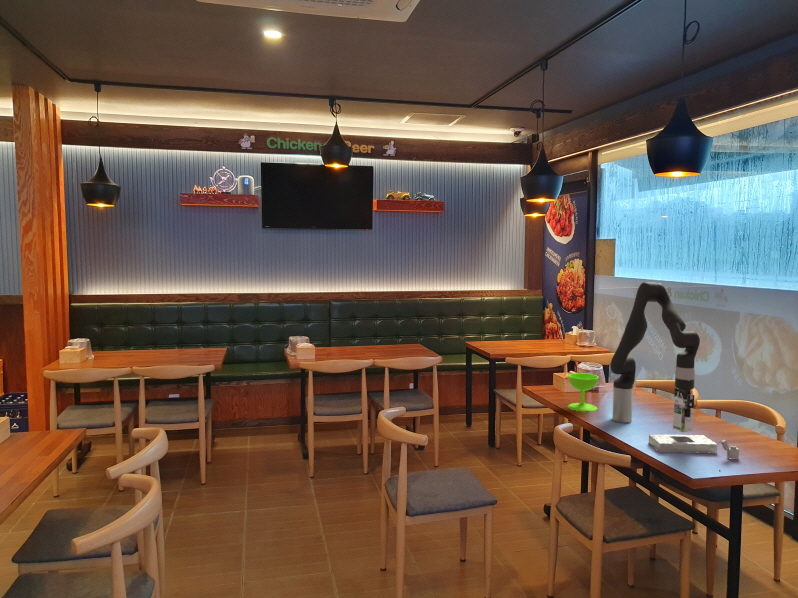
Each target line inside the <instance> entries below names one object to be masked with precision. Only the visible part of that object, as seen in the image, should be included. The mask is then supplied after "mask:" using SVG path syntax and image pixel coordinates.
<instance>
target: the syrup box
mask: <svg viewBox="0 0 798 598" xmlns="http://www.w3.org/2000/svg"><path fill="white" fill-rule="evenodd" d="M685 401H687V399H684V402H685ZM686 404H687V403H686ZM691 405H692V403H691ZM684 415H685V403H683V399H682V398H681V397H678V396H676V397H674V398H673V416H672V417H673V418H672V419H673V420H672V429H673V430H675V431H678V432H681V433H687V432H688V433H689V432H693V424H694V423H693V421H694V408H692V409H691V414H690V417H685V416H684Z"/></svg>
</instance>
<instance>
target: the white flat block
mask: <svg viewBox="0 0 798 598" xmlns="http://www.w3.org/2000/svg"><path fill="white" fill-rule="evenodd" d="M649 443H650V444H651V445H652V446H651V445H650V444H649ZM648 444H649V445H650V446H651V447H652V448H654V449H655V450H656V449H657V450H658V451H659V452H658V453H661V452H699V453H698V454H707V453H706V452H710V453H709V454H718V443H716V442H715V441H713V440H711V439H710V438H708V437H707V436H705V435H703V434H702V435H701V434H695V435H694V434H691V435H690V434H648ZM657 450H656V451H657Z"/></svg>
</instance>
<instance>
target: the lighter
mask: <svg viewBox="0 0 798 598" xmlns="http://www.w3.org/2000/svg"><path fill="white" fill-rule="evenodd" d="M720 442H721V445H722V448H723V449H724V450H725V451H726V458H727V457H728V458H739V457H740V448H738V447H737V446H736V445H730V447H729V445H728V443H727V440H725V439H722V440H720ZM728 458H727V459H728ZM739 459H740V458H739Z"/></svg>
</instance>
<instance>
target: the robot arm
mask: <svg viewBox="0 0 798 598" xmlns="http://www.w3.org/2000/svg"><path fill="white" fill-rule="evenodd" d="M648 303H657V304H658V305H659V306H660V307H661V318H662V322H663V323H664V325H665V326H666V328H667V329H668V330H669V335H670V337H671V341H672V344H673V345H674V346H675V347H677V348H679V349H684V351H682V352H679V353H677V354H676V360H675V361H676V362H675V363H676V364H675V371H674V373H675V376H674V380H675V381H674V389H673V391H674V395H673V396H674V397H676V396H678V397H681V398H682V399H683V403H685V415H684V416H685V417H690V414H691V409H692V408H693V409H695V394H692V391H691V390H694V388H695V379H696V378H695V375H696V371H695V362H696V361H695V358H696V356H697V352H698V349H699V347H700V344H701V343H700V342H701V338H700V336H699V334H698V333H697V332H696V331H685V330H686V327H687V325H686V323H685V321H684V320H683V319H682V317H681V316H680V315H679V313H678V312H677V310H676V308H675V306H674V304H673V302H672V299H671V298H670V296H669V293H668V290H667V289H666V288H665V286H664V285H663V283H660V282H651V281H645V282H642V283H640V285H639V286H638V288H637V291H636V295H635V298H634V303H633V307H632V310H631V312H630V316H629V318H628V320H627V323H626V325H625V328H624V330H623V333H622V337H621V338H620V341H619V344H618V347H617V348H616V350H615V353H614V354H613V356H612V358H611V360H610V366H609V367H610V371H611V372H612V373H613V374H614V375H620V376H619V377H618V378H616V379H615V380H614V381H613V386H612V387H613V390H612V391H613V392H612V393H613V394H612V421H614V422H617V423H622V424H623V423H624V424H625V423H627V422H628V423H631V422H632V421H633V420H632V419H633V396H634V395H633V394H634V393H633V392H634V390H633V389H634V384H635V379H636V371H637V369H636V368H637V366H636V365H637V364H636V361H635V359H634V357H633V356H631V355H630V353H631V352H632V351H633V349H635V348H636V347H637V346H638V345H639V344H640V343H641V342H642V340H643V339H644V337H645V334H646V332H647V328H648V322H647V318H646V315H645V314H646V313H645V310H646V307H647V305H648ZM684 399H687V401H685V402H684ZM686 403H687V404H686ZM691 403H692V405H691ZM628 423H627V424H628Z"/></svg>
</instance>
